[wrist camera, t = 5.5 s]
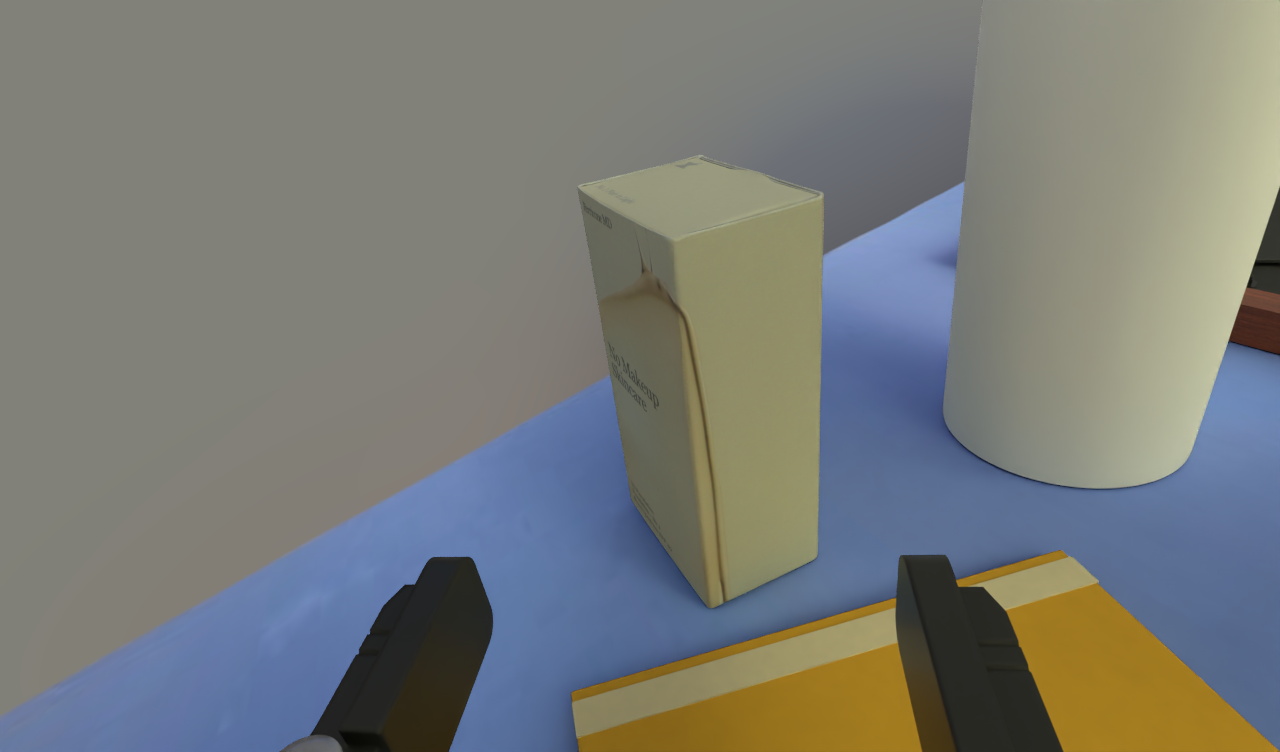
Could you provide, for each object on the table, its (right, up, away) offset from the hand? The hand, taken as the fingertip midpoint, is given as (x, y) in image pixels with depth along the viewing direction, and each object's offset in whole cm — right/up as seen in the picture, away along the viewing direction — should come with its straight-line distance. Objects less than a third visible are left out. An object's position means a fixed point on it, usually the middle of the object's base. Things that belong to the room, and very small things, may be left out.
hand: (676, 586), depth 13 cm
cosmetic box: (+2, -2, +11) cm, 11 cm away
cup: (+16, +2, +13) cm, 21 cm away
